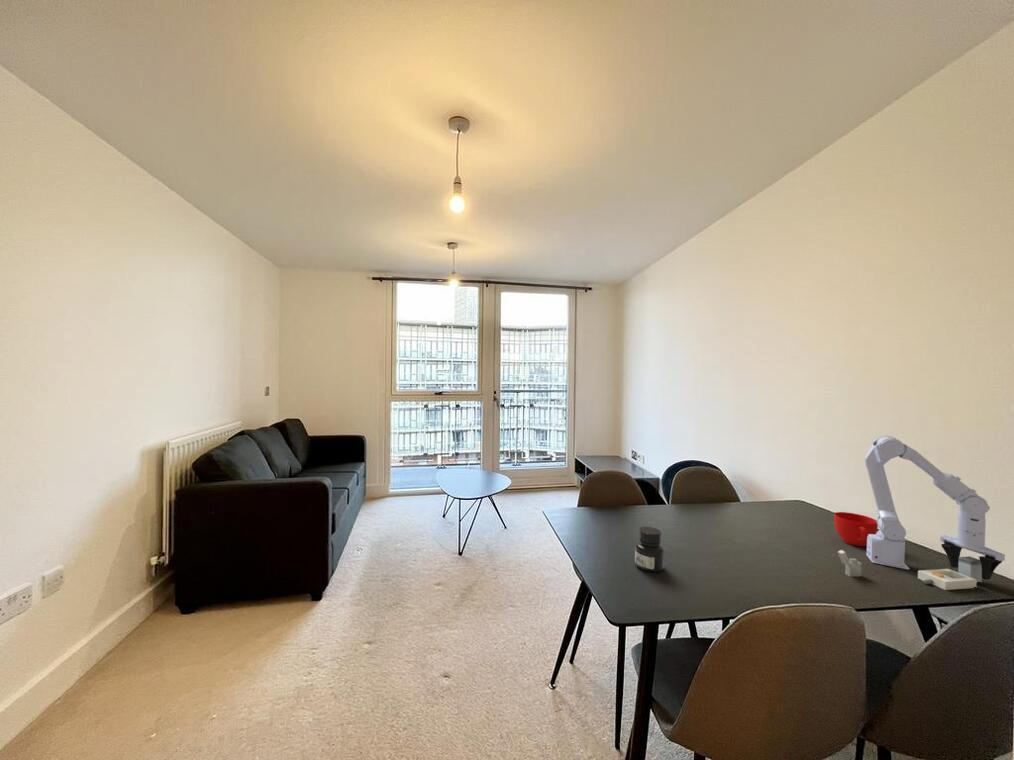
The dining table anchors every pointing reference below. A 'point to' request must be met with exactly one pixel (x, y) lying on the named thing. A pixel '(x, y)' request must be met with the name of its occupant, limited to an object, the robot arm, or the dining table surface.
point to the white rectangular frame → (946, 579)
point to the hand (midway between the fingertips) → (969, 572)
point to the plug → (970, 567)
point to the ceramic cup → (854, 527)
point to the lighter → (850, 564)
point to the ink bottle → (649, 550)
